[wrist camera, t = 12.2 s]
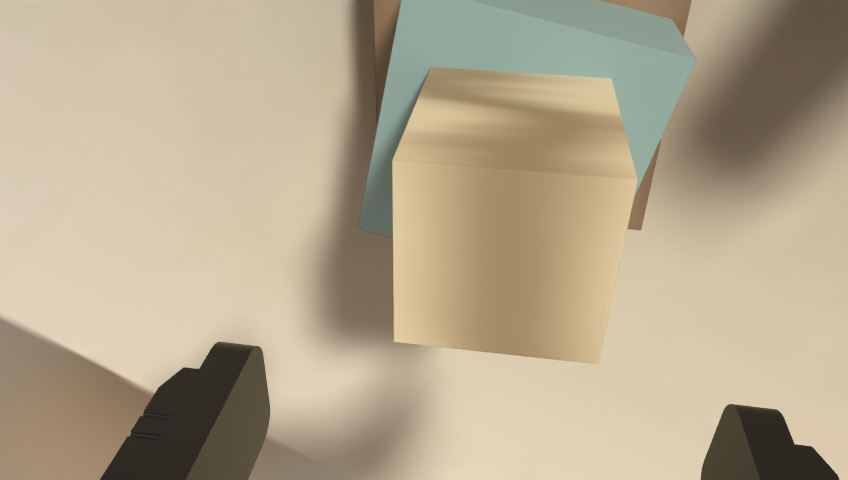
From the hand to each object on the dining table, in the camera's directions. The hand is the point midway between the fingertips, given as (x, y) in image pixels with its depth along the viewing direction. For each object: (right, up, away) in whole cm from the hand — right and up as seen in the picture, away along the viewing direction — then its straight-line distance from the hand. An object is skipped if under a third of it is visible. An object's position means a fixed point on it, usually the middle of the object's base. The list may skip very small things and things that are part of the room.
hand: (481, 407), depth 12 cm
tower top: (+2, +8, +12) cm, 14 cm away
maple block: (+2, +5, +8) cm, 10 cm away
